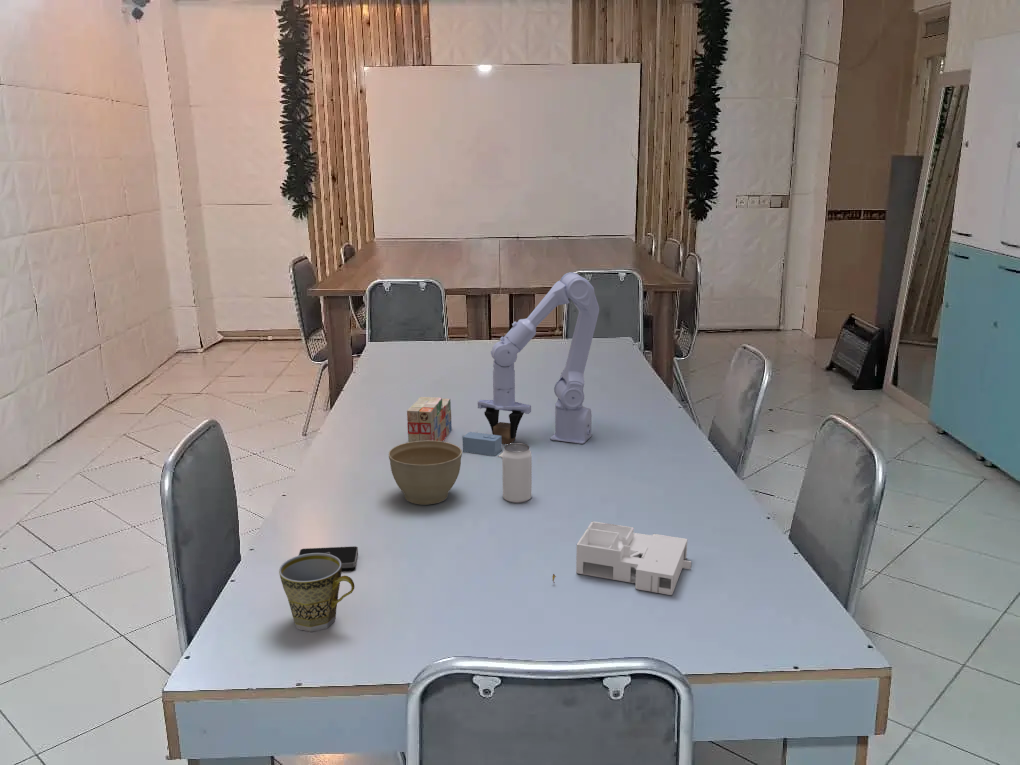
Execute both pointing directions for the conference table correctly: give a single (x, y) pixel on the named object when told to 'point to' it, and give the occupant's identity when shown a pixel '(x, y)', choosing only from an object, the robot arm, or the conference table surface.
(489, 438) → the base brick
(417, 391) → the conference table surface
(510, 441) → the walnut brick
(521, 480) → the can
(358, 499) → the conference table surface
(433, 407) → the stack of blocks
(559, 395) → the robot arm
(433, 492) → the planter bowl
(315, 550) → the external hard drive
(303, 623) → the ceramic cup
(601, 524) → the house
